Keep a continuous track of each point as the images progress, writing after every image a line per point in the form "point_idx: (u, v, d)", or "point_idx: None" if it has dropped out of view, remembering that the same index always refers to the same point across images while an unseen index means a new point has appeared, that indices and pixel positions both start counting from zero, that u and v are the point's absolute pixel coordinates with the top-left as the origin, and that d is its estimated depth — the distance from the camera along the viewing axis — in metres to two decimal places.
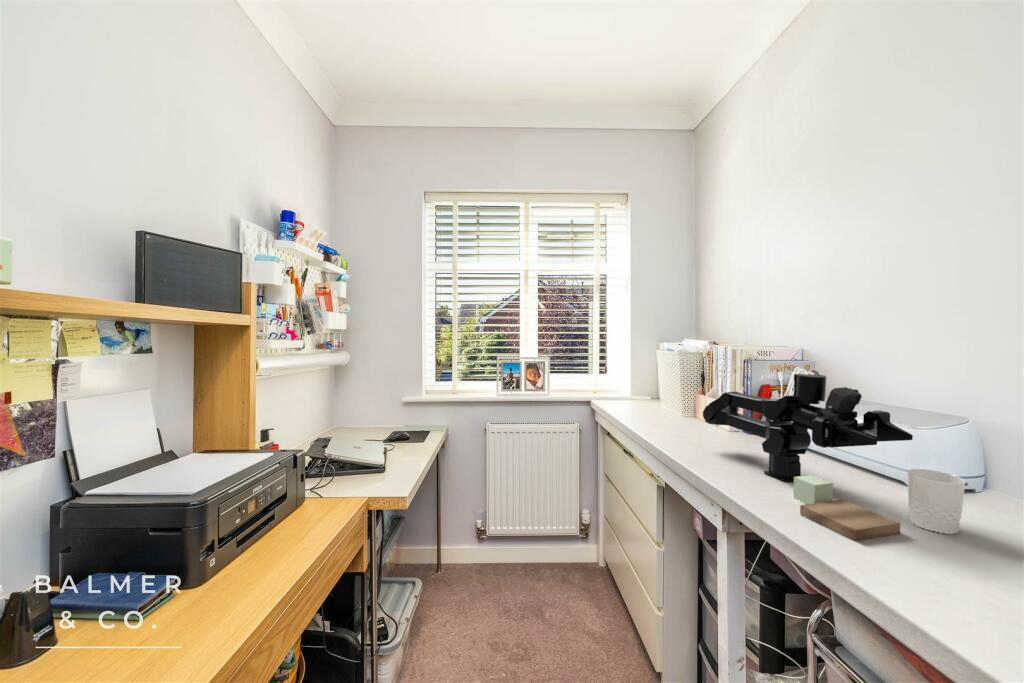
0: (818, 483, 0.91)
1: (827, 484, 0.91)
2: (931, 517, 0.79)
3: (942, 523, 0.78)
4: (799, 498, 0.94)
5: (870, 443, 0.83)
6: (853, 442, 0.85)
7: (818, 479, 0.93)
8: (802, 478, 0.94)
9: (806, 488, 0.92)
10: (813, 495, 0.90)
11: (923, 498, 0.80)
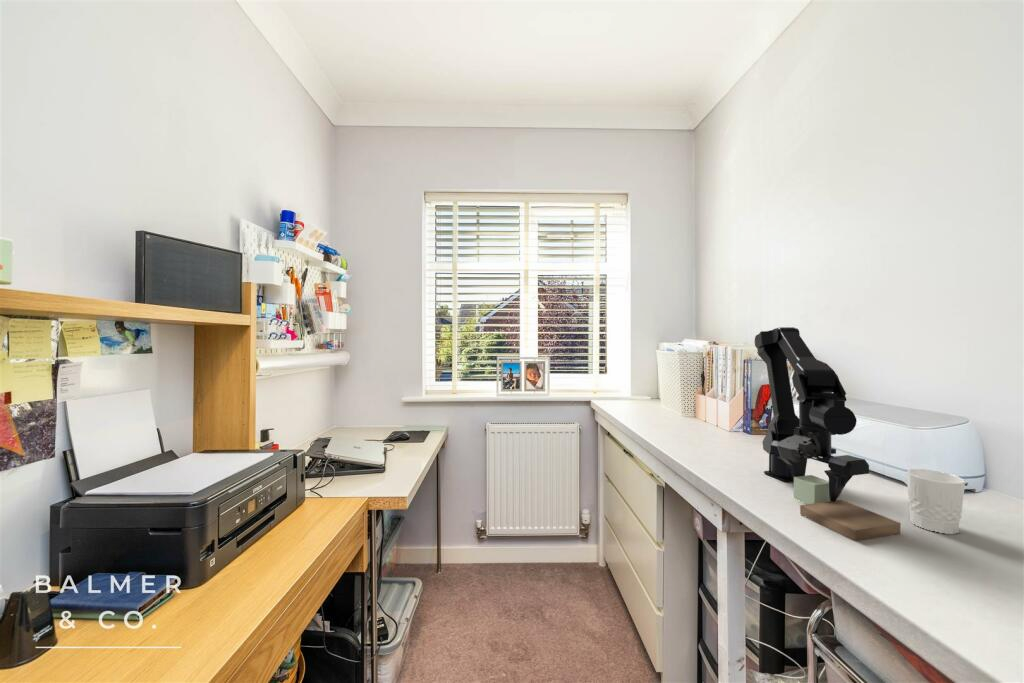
0: (818, 483, 0.91)
1: (827, 484, 0.91)
2: (931, 517, 0.79)
3: (942, 523, 0.78)
4: (799, 498, 0.94)
5: None
6: None
7: (818, 479, 0.93)
8: (802, 478, 0.94)
9: (806, 488, 0.92)
10: (813, 495, 0.90)
11: (923, 498, 0.80)
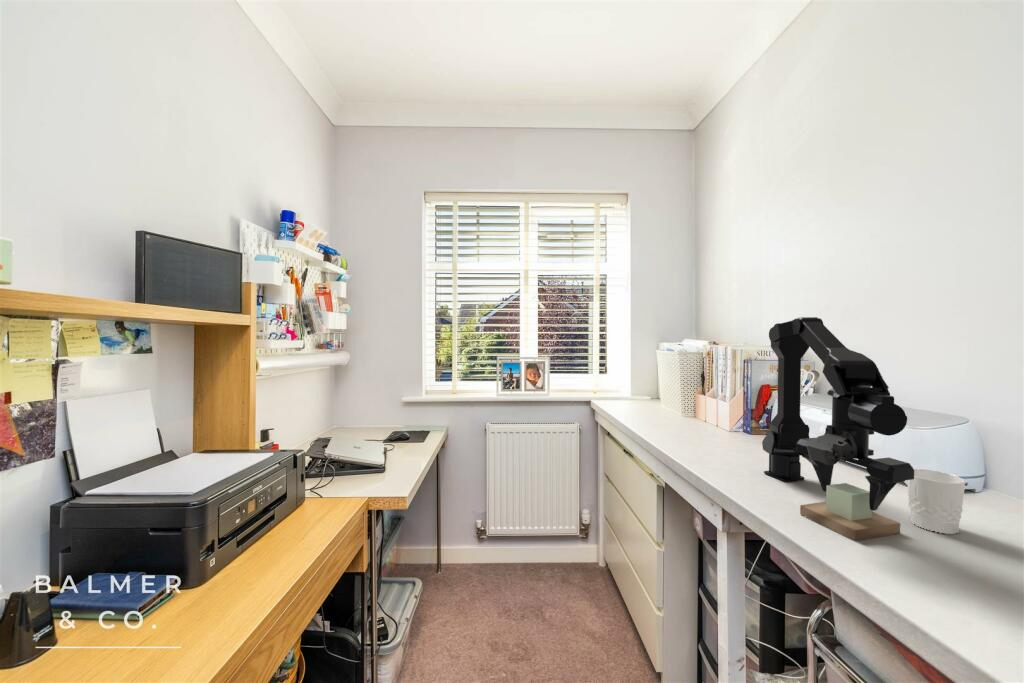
0: (856, 493, 0.80)
1: (866, 494, 0.80)
2: (931, 517, 0.79)
3: (942, 523, 0.78)
4: (833, 509, 0.83)
5: None
6: None
7: (854, 488, 0.83)
8: (836, 487, 0.83)
9: (842, 498, 0.81)
10: (850, 506, 0.80)
11: (923, 498, 0.80)
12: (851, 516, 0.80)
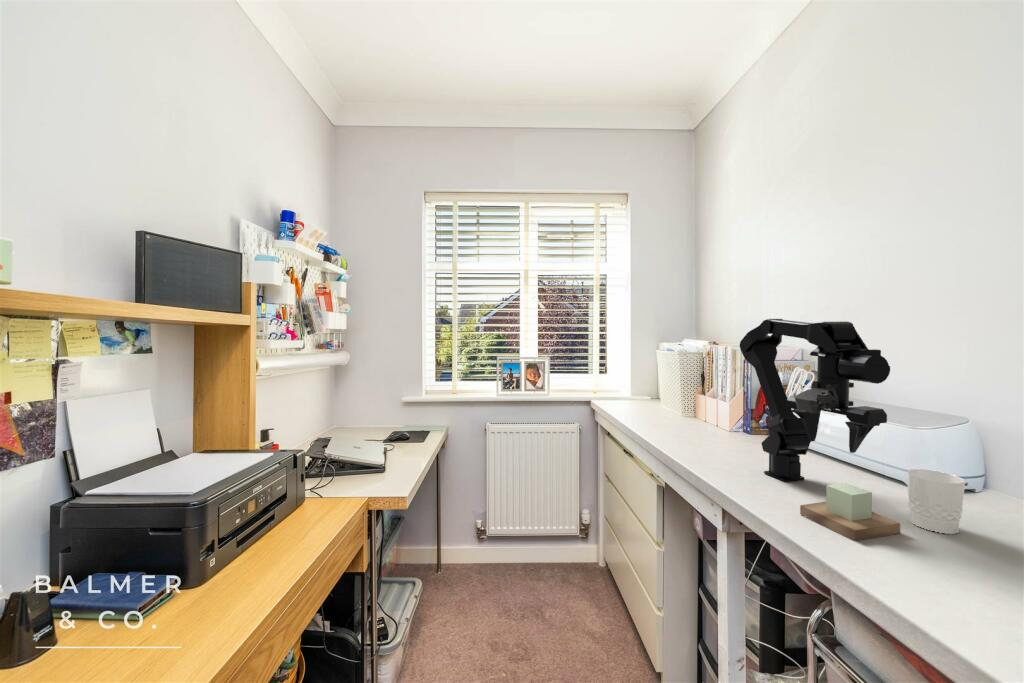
0: (856, 493, 0.80)
1: (866, 494, 0.80)
2: (931, 517, 0.79)
3: (942, 523, 0.78)
4: (833, 509, 0.83)
5: None
6: None
7: (854, 488, 0.83)
8: (836, 487, 0.83)
9: (842, 498, 0.81)
10: (850, 506, 0.80)
11: (923, 498, 0.80)
12: (851, 516, 0.80)
